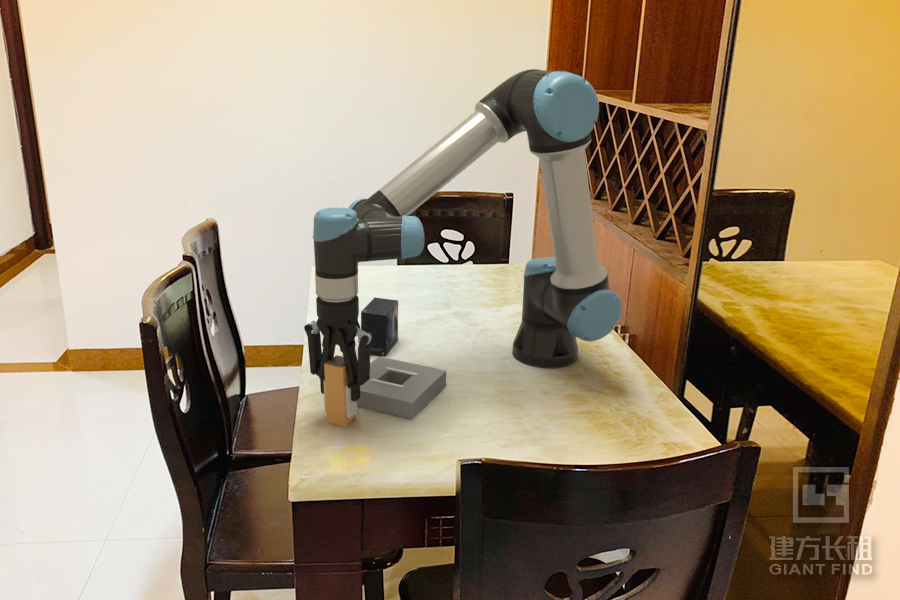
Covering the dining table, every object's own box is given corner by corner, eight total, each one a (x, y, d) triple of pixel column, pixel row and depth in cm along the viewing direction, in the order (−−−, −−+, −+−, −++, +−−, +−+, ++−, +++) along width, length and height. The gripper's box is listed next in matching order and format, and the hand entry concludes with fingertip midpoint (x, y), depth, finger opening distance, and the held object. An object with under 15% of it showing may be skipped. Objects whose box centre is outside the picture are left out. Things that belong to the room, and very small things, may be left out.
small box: (387, 357, 165) (387, 314, 162) (360, 354, 167) (359, 311, 163) (399, 340, 175) (399, 299, 172) (373, 337, 176) (373, 296, 173)
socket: (446, 385, 153) (446, 369, 151) (411, 419, 139) (411, 401, 137) (379, 371, 158) (379, 355, 157) (340, 401, 145) (339, 384, 143)
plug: (355, 417, 139) (354, 358, 135) (344, 426, 136) (342, 366, 131) (337, 412, 140) (335, 354, 136) (326, 421, 137) (324, 361, 133)
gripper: (389, 296, 130) (390, 413, 137) (309, 282, 136) (314, 394, 144) (368, 309, 123) (370, 431, 131) (285, 294, 130) (291, 410, 137)
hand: (340, 411), depth 137 cm, fingers closed on plug, 4 cm apart
